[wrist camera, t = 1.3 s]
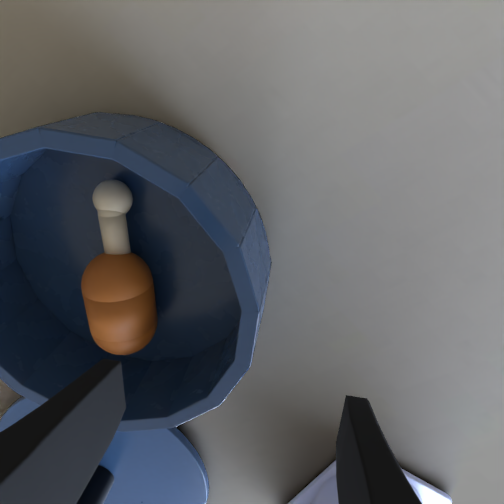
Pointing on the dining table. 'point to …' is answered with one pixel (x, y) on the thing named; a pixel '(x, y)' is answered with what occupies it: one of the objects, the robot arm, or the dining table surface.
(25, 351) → the pot
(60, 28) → the dining table surface
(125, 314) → the drumstick
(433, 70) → the dining table surface
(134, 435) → the lid
